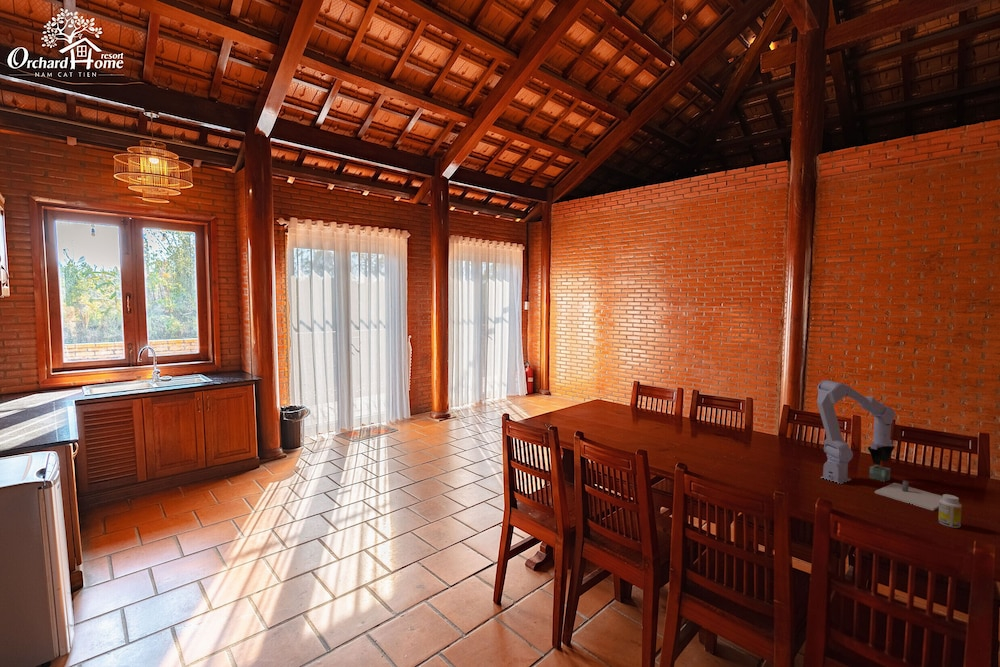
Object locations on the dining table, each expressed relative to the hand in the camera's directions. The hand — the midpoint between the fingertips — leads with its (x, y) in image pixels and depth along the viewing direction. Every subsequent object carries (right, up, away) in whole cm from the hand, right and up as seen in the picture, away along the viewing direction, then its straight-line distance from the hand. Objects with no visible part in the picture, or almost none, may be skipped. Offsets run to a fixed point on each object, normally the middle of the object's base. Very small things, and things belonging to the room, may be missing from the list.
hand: (880, 462), depth 196 cm
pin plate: (-3, -9, -18) cm, 20 cm away
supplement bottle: (-11, -10, -41) cm, 43 cm away
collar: (0, -7, 0) cm, 7 cm away
